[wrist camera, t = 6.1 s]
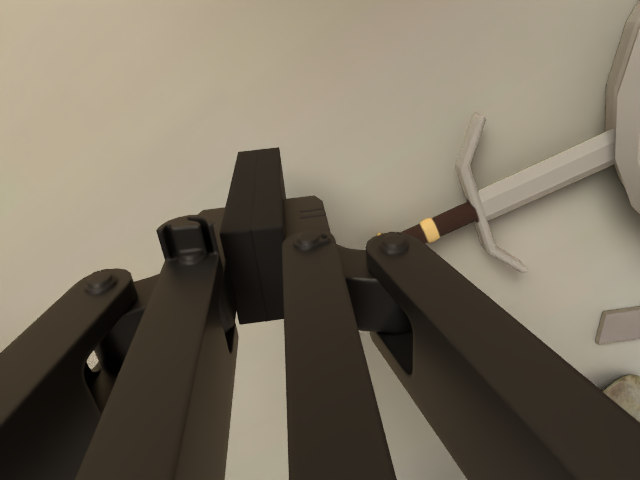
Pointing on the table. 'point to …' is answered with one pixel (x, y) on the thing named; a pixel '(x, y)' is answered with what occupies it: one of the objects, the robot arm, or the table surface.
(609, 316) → the knife
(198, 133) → the table surface
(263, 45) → the table surface
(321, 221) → the robot arm
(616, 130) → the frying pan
